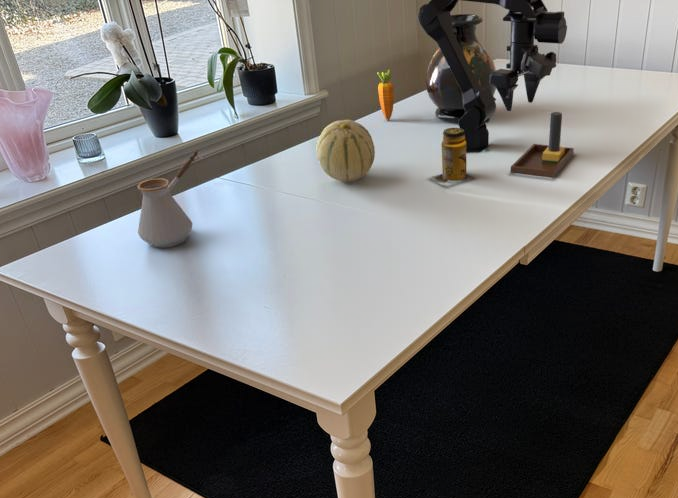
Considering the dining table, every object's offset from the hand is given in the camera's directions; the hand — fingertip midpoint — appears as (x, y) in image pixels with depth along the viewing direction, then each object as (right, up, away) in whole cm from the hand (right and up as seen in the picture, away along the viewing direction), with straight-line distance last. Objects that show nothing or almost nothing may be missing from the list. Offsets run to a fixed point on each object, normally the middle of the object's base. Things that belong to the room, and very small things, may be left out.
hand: (519, 106), depth 178 cm
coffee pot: (-79, -36, -22) cm, 90 cm away
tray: (+6, -15, 0) cm, 16 cm away
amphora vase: (-12, +11, +38) cm, 41 cm away
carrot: (-35, +9, +38) cm, 53 cm away
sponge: (+9, -13, +1) cm, 16 cm away
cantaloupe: (-44, -19, -1) cm, 48 cm away
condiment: (-18, -20, -5) cm, 27 cm away
